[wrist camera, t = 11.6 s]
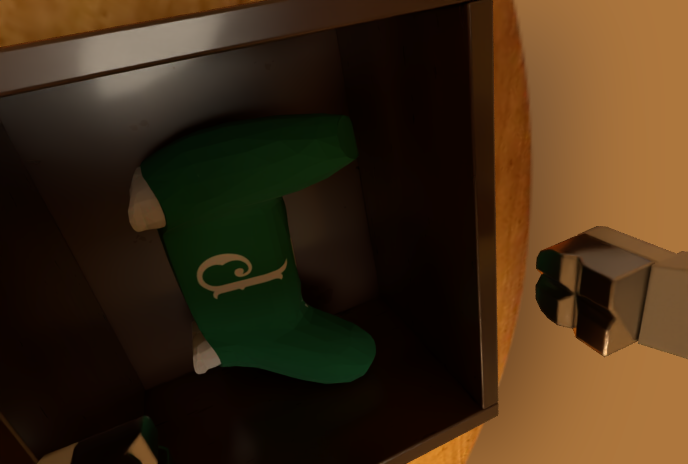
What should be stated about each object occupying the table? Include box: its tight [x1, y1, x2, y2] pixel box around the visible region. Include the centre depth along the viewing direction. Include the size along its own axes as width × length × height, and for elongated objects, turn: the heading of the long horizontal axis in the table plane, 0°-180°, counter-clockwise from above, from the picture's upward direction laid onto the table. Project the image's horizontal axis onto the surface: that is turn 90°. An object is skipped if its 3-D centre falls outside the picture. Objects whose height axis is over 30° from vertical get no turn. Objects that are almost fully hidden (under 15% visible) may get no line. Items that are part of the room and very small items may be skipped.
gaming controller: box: [128, 113, 376, 384], centre depth 13 cm, size 9×4×6 cm
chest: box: [0, 0, 498, 464], centre depth 12 cm, size 11×12×8 cm
